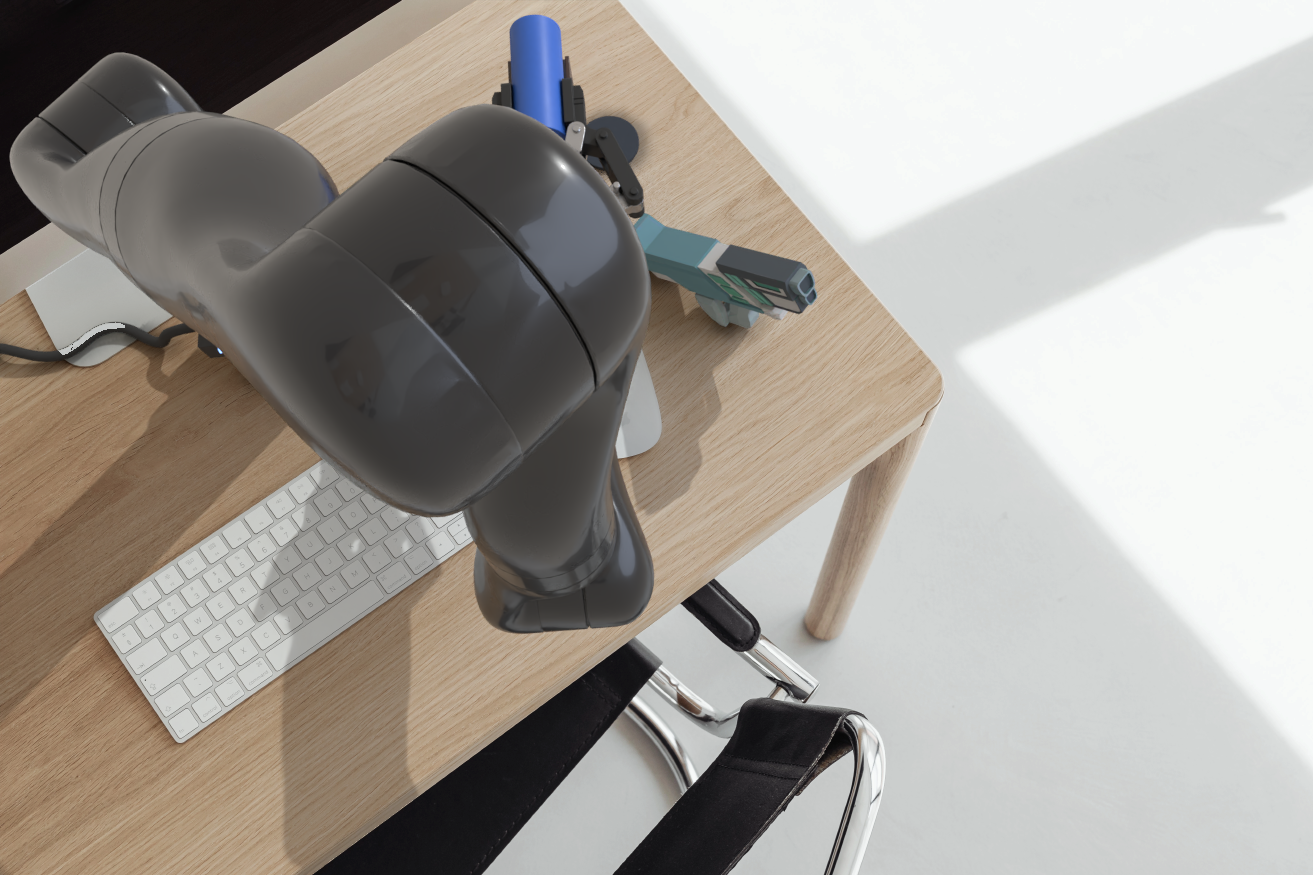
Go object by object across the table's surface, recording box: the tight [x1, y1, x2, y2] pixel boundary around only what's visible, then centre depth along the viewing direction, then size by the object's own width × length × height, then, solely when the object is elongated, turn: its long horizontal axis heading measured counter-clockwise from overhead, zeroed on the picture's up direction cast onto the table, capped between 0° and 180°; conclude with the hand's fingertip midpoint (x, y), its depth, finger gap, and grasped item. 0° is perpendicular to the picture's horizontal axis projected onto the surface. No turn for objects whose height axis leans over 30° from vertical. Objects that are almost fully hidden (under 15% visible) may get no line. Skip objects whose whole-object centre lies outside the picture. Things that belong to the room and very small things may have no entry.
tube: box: [508, 14, 567, 140], centre depth 69 cm, size 9×4×4 cm, turn 5°
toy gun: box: [633, 212, 818, 329], centre depth 82 cm, size 4×19×10 cm
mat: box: [587, 115, 640, 171], centre depth 93 cm, size 6×6×1 cm
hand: (537, 89), depth 69 cm, fingers closed on tube, 3 cm apart
